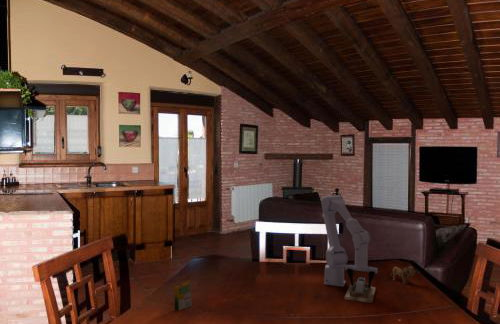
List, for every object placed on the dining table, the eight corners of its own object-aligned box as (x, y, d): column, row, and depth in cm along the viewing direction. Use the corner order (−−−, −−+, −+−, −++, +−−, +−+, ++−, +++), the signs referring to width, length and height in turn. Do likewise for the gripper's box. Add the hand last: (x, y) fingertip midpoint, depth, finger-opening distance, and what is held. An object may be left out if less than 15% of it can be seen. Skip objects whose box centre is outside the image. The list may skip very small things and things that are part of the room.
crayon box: (187, 304, 184) (186, 277, 184) (191, 305, 183) (191, 279, 182) (174, 309, 179) (173, 282, 178) (178, 311, 177) (178, 283, 176)
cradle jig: (344, 299, 191) (344, 292, 191) (350, 286, 208) (350, 280, 207) (372, 303, 186) (372, 296, 186) (375, 289, 203) (375, 283, 203)
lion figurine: (416, 284, 212) (417, 266, 211) (410, 286, 208) (411, 268, 208) (391, 276, 223) (391, 259, 223) (385, 278, 220) (385, 261, 220)
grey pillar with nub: (355, 294, 192) (356, 282, 192) (358, 287, 202) (358, 275, 201) (362, 295, 191) (362, 283, 191) (364, 288, 201) (365, 276, 200)
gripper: (344, 258, 195) (343, 287, 196) (376, 261, 190) (376, 291, 190) (346, 254, 202) (345, 282, 202) (378, 257, 196) (377, 286, 197)
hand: (360, 286), depth 197 cm, fingers open, 7 cm apart
